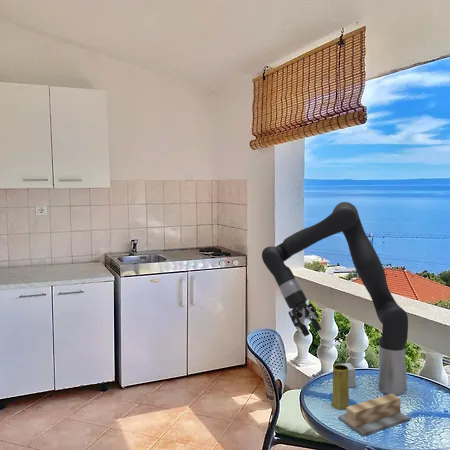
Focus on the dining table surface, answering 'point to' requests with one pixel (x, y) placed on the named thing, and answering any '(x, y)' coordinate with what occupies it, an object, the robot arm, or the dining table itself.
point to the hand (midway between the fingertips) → (313, 332)
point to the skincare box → (350, 375)
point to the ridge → (374, 415)
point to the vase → (340, 387)
